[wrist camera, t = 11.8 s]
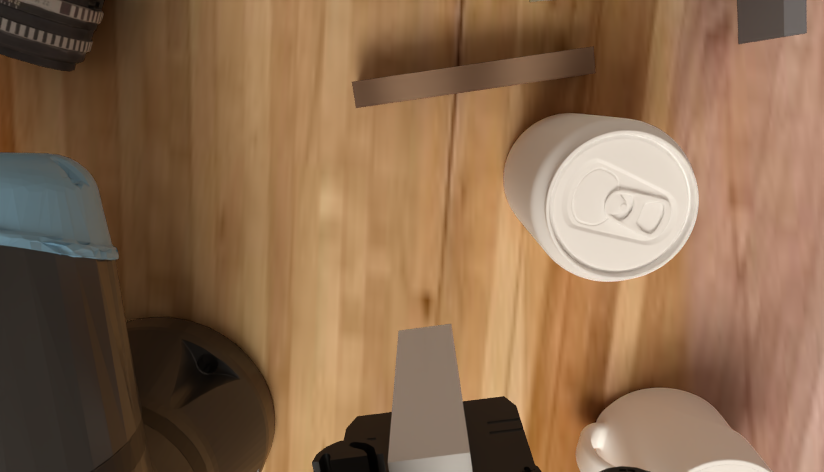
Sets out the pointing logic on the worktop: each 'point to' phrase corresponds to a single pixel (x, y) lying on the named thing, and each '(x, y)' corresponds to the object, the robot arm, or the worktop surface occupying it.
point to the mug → (665, 436)
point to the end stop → (770, 19)
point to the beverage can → (602, 194)
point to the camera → (49, 30)
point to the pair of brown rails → (474, 77)
